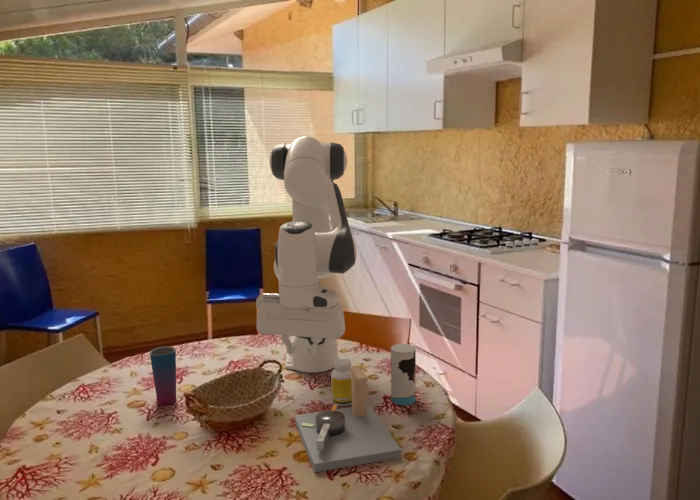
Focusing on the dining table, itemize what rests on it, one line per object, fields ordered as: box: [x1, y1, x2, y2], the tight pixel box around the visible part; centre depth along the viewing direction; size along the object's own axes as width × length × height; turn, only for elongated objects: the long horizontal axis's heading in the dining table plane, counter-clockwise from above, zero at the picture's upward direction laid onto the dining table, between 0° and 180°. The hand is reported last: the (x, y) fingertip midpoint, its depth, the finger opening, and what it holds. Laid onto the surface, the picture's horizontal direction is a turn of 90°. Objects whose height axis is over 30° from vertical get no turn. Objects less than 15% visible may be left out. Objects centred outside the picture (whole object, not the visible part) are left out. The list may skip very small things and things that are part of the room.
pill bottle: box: [330, 358, 352, 407], centre depth 160 cm, size 6×6×12 cm
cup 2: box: [390, 343, 417, 406], centre depth 160 cm, size 7×7×15 cm
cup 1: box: [149, 346, 177, 407], centre depth 162 cm, size 7×7×15 cm
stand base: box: [294, 365, 402, 473], centre depth 139 cm, size 24×20×13 cm
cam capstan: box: [316, 404, 345, 451], centre depth 139 cm, size 18×7×3 cm, turn 170°
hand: (301, 353), depth 133 cm, fingers open, 3 cm apart
